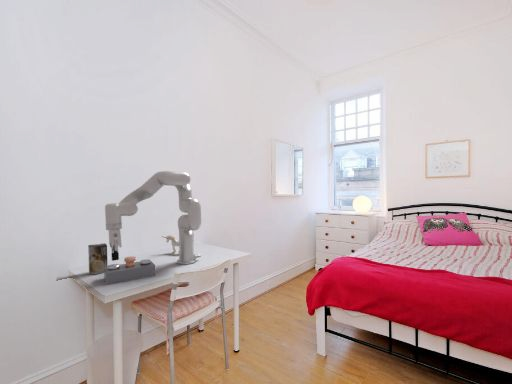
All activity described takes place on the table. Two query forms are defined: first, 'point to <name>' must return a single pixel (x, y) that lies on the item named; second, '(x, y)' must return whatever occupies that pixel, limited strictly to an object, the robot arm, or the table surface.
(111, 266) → the steel plunger
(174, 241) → the unicorn figurine
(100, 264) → the coffee box
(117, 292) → the table surface
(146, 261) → the steel plunger
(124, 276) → the box
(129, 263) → the peach ball
